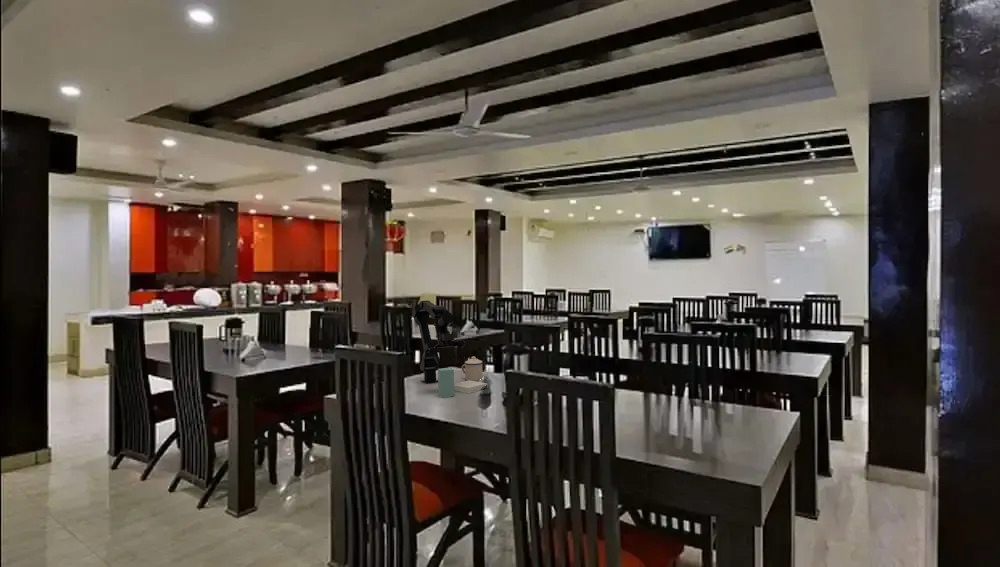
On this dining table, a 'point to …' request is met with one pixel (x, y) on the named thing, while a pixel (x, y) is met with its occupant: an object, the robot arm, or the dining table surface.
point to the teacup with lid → (473, 369)
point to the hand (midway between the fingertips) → (448, 363)
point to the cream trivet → (468, 386)
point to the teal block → (446, 382)
